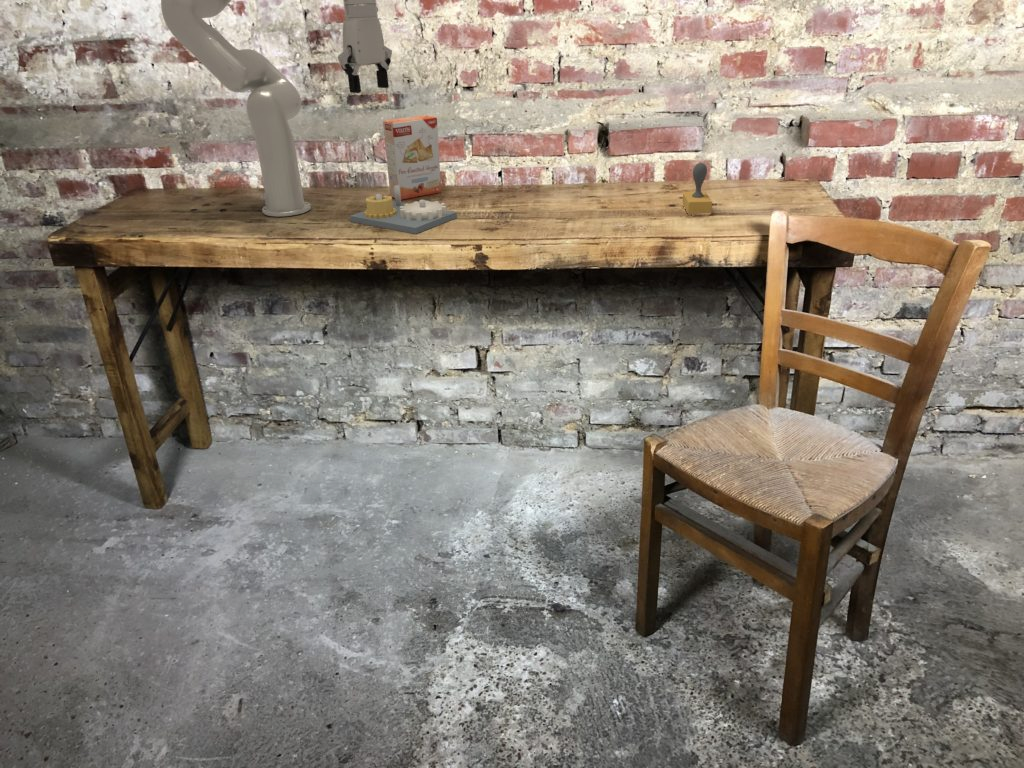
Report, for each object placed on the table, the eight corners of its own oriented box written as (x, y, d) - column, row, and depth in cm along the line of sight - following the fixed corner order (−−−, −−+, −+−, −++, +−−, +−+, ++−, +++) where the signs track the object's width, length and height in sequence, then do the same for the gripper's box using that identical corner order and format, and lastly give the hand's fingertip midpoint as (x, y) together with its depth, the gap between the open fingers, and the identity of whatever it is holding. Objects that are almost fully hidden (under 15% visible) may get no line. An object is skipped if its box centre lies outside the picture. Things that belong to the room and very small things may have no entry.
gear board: (350, 221, 194) (347, 196, 191) (393, 206, 205) (390, 182, 202) (415, 234, 183) (413, 207, 180) (457, 217, 194) (455, 192, 191)
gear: (358, 215, 193) (356, 200, 191) (380, 208, 199) (378, 193, 197) (381, 220, 189) (379, 204, 187) (403, 212, 194) (401, 196, 193)
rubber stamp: (711, 216, 189) (716, 167, 183) (687, 216, 189) (691, 167, 184) (704, 205, 198) (708, 158, 192) (682, 205, 198) (685, 159, 192)
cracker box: (399, 201, 210) (392, 122, 201) (389, 197, 215) (381, 120, 205) (443, 192, 218) (437, 116, 208) (432, 188, 222) (426, 113, 212)
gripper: (375, 11, 187) (382, 85, 195) (322, 14, 175) (333, 93, 183) (397, 11, 183) (404, 86, 191) (345, 14, 171) (355, 95, 179)
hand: (369, 90), depth 187 cm, fingers open, 9 cm apart
